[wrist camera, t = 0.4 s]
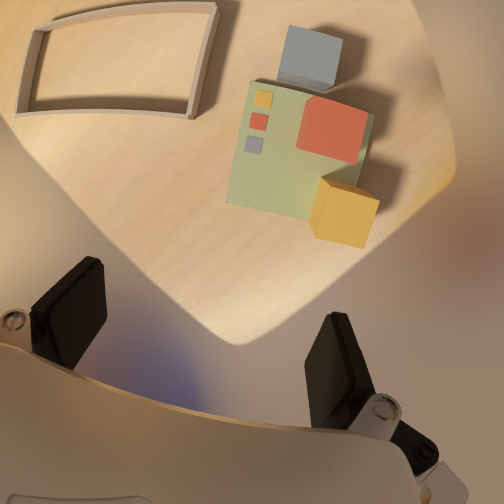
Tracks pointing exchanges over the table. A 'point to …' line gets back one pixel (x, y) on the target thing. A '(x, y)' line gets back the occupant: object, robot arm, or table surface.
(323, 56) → the slate block
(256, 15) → the table surface
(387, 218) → the table surface
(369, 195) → the ochre block
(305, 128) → the red block
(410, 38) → the table surface
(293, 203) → the building board
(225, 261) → the table surface
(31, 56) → the beige open rectangular frame
